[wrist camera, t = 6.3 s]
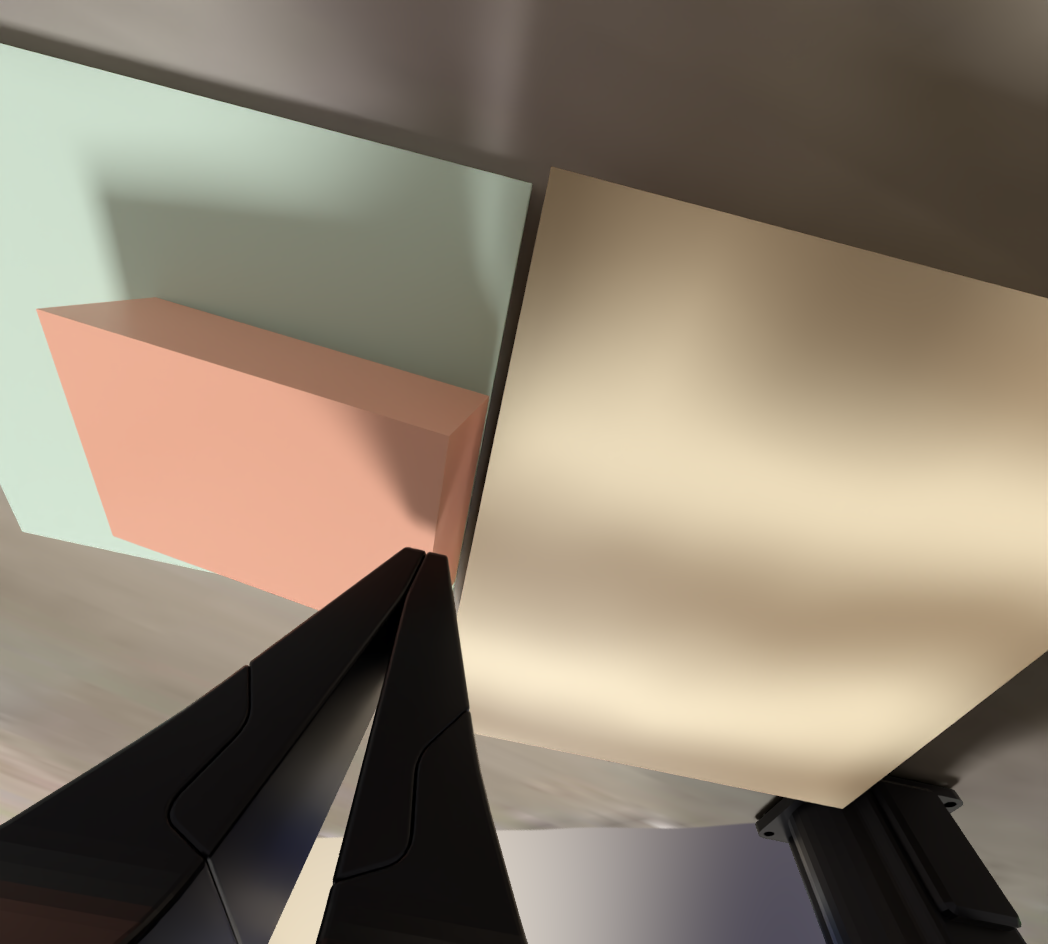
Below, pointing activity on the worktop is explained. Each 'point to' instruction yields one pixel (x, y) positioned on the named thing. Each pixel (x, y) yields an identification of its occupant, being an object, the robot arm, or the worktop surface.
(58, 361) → the salmon pink block
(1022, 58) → the worktop surface
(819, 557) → the tan block
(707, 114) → the worktop surface
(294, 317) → the mat
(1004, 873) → the worktop surface
